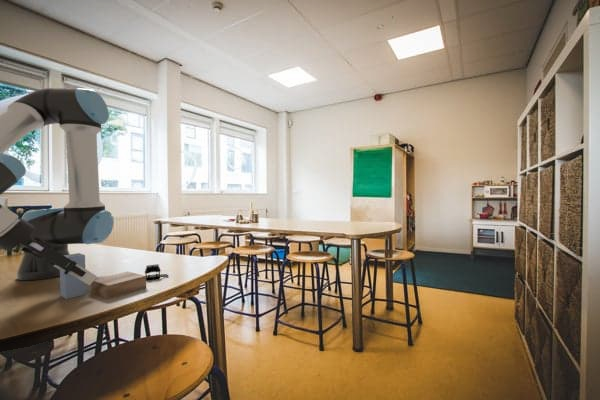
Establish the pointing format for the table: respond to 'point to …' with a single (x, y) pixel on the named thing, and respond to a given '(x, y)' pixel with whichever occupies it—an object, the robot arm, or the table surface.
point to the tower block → (72, 279)
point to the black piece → (154, 269)
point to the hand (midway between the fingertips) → (85, 277)
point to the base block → (118, 284)
